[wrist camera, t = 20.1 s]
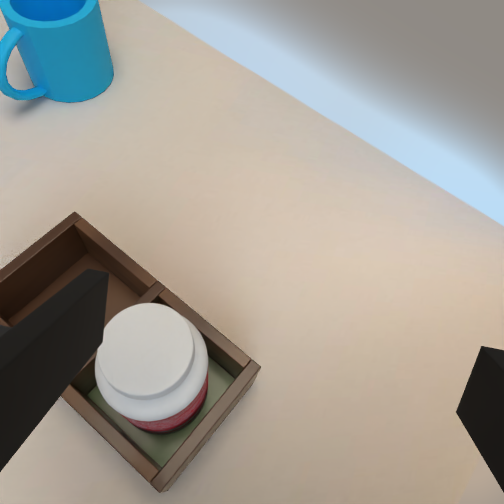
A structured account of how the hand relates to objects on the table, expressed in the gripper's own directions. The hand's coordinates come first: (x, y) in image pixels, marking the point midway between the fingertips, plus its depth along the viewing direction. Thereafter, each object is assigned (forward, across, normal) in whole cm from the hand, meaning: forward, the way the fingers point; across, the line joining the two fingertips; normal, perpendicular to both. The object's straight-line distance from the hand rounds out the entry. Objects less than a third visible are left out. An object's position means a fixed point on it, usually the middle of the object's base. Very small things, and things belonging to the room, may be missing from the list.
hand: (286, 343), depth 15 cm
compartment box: (+15, -10, -12) cm, 21 cm away
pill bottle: (+13, -6, -12) cm, 19 cm away
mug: (+33, -24, +6) cm, 42 cm away
